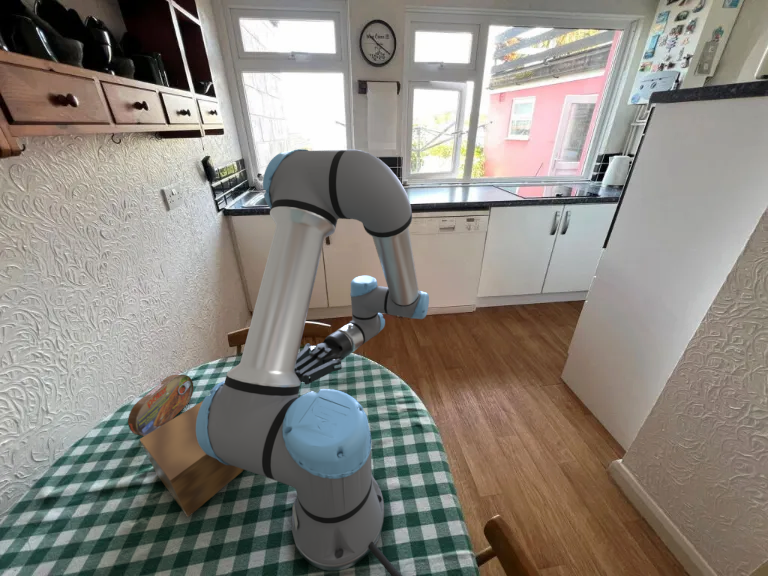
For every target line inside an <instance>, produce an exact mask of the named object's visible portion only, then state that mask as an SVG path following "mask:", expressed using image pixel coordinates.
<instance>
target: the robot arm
mask: <svg viewBox="0 0 768 576" xmlns="http://www.w3.org/2000/svg"><path fill="white" fill-rule="evenodd" d="M262 190H264V191H265V193H264V194H263V197H264V200H265V203H266V204H267V207H269V209H270V211H269V215H270V218H272V221H273V222H274V223H275V229H274V232H273V237H272V240H271V243H270V247H269V251H268V255H267V259H266V263H265V267H264V271H263V275H262V278H261V282H260V286H259V290H258V293H257V297H256V301H255V305H254V308H253V312H252V317H251V320H250V325H249V328H248V332H247V334H246V335H247V336H246V340H245V344H244V348H243V351H242V355H241V359H240V362H239V364H237V365H236V366H234V367H233V368H231V369H230V370H228V371H227V372H226V376H225V380H223V381H221V382H219V383H217V384H216V385H215V386H213V387H212V388H211V390H210V391H209V395H206V396H205V397H204V398H203V400H202V401H203V402H202V401H201V402H202V404H201V406H200V409H199V412H198V416H197V420H196V436H197V440H198V443H199V445H200V447H201V448H202V450H203V451H204V452H205V453H206V454H207V455H209V456H211V457H213V458H216V459H218V460H219V461H220V462H221V463H223V464H226V465H232V466H235V467H238V468H241V469H244V470H243V471H247V472H250V473H252V474H256V475H258V476H261V477H264V478H267V479H270V480H273V481H275V482H278V483H282V484H284V485H287V486H290V487H292V488H294V489H295V492H296V496H295V501H294V502H293V504H292V512H291V532H292V536H293V540H294V543H295V547H296V549H297V551H298V552H299V554H300V555H301V557H302V559H304V560H305V562H307V563H308V564H310V565H311V566H313V567H315V568H317V569H320V570H324V571H331V572H333V571H335V572H336V571H341V570H345V569H348V568H350V567H353V566H355V565H357V564H358V563H360V562H361V561H362V560H364V559H365V558H366V557H367V556H369V554H370V553H372V554H373V556H374V557H375V558H376V559H377V560H378V562H379V563H380V564H381V565H382V566H383V568H384V569H385V571H387V573H389V575H390V576H403V575H402V574H401V573H400V571H398V570H397V568H396V567H395V566H394V565H393V564H392V563H391V561H390V560H389V559H388V558H387V557H386V555H384V553H383V552H382V551H381V549H380V548H379V547H378V546H377V545H376V544H377V543H378V541H379V539H380V536H381V534H382V531H383V528H384V522H385V503H384V497H383V493H382V491H381V487H380V486H379V484H378V482H377V480H376V479H375V478H374V476H373V473H372V472H373V471H372V433H371V430H370V425H369V420H368V416H367V413H366V412H365V410H364V407H363V406H362V405H361V404H360V402H359V401H358V400H357V399H356V398H354V397H353V396H351V394H348V393H346V392H345V391H341V390H337V389H333V388H321V389H318V391H317V392H315V391H313V390H312V391H308V392H306V393H304V394H302V395H301V396H299V394H300V388H301V384H302V383H304V385H306V386H307V385H310V384H311V383H314V382H315V381H318V380H319V379H321V378H324V377H325V376H327V375H329V374H331V373H333V372H336V371H341V370H342V369H343V367H342V365H343V364H342V361H343V360H344V359H346V358H347V357H348V356H349V355H351V354H352V353H354V352H355V351H356V350H358V349H359V348H361V346H363V345H364V344H365V343H367V342H368V341H370V340H371V339H372V338H374V337H376V336H377V335H378V334H379V333H380V332H381V331H382V330H383V329H384V328H385V326H386V319H385V318H384V314H385V315H390V316H397V317H402V318H409V319H410V320H411V319H416V320H423V319H425V318H426V317H427V314H428V310H429V305H430V295H429V293H427V292H425V291H422V290H419V284H418V278H417V277H418V276H417V272H416V265H415V259H414V252H413V246H412V240H411V239H412V238H411V234H410V227H411V224H412V222H413V211H412V205H411V202H410V198H409V196H408V193H407V191H406V189H405V187H404V186H403V184H402V182H401V180H400V179H399V178H398V176H397V175H396V174H395V173H394V171H393V170H392V169H391V168H390V167H389V166H388V165H387V164H386V163H385V162H384V161H383V160H381V159H380V158H379V157H377V156H375V155H374V154H372V153H370V152H368V151H365V150H361V149H354V148H353V149H352V148H351V149H334V150H333V149H330V150H308V149H306V148H305V149H303V148H297V149H294V150H285V151H282V152H279V153H278V154H276V155H275V156H273V158H272V159H271V160H270V161H269V162H268V164H267V166H266V168H265V171H264V174H263V178H262ZM338 220H356V221H358V222H360V223H361V224H362V226H363V229H364V231H365V232H366V234H368V235H369V236H371V238H372V240H373V244H374V246H375V250H376V253H377V257H378V260H379V264H380V266H381V270H382V273H383V276H384V279H385V282H386V286H382V285H379V284H378V281H377V279H376V278H375V277H374V276H371V275H359V276H356V277H354V278H353V279H351V281H350V302H351V303H350V304H351V305H350V306H351V317H352V318H351V320H350V321H349V322H347V323H346V324H345V325H343V326H342V327H340V328H338V329H336V330H335V331H334V332H331V333H330V334H329V335H327V336H326V337H325V338H324V340H323V341H322V342H321V343H317V344H315V345H311V344H310V343H306V344H305V346H304V347H303V348H302V350H301V351H300V348H301V345H302V344H301V343H302V339H303V334H304V330H305V325H306V321H307V316H308V313H309V309H310V305H311V304H310V303H311V301H312V296H313V290H314V286H315V282H316V277H317V274H318V269H319V265H320V260H321V256H322V251H323V247H324V242H325V239H326V238H328V237H331V235H333V234H334V233H335V232H336V228H337V224H338Z"/></svg>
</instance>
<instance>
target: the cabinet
mask: <svg viewBox="0 0 768 576" xmlns="http://www.w3.org/2000/svg"><path fill="white" fill-rule="evenodd" d="M202 402H203V400H201V401H200V402H199V403H197V404H195V405H194V406H192V407H191V408H189V409H187V410H185V411H184V412H182V413H180V414H178V415H176V416H175V417H174V418H173V419H172V420H170V421H169V422H167V423H165V424H164V425H162V426H161V427H159V428H157V429H156V430H154V431H152V432H151V433H149V434H147V435H146V436H142V437H141V438H139V442H140V443H141V446H142V448H143V450H144V452H145V454H146V456H147V458H148V459H149V462H150V464H151V465H152V468H153V469H154V471H155V473H156V475H157V477H158V478H159V480H160V481H161V482H162V484H163V485H164V486H165V488H166V489H167V491H168V492H169V494H170V495H171V496H172V498H173V499H174V501H175V502H176V503H177V505H178V506H179V507H180V509H181V510H182V512H183V513H184V515H185V516H186V517H187V518H189V517H190V516H191V515H193V514H194V513H195V512H197V510H199V509H200V508H201V507H202V506H203V505H205V504H206V503H207V502H208V501H209V500H210V499H212V498H213V497H214V496H215V495H217V493H219V492H220V491H221V490H222V489H223V488H225V487H226V486H227V485H229V483H230V482H232V481H233V480H235V478H237V477H238V476H239V475H240V474H242V472H243V471H245V470H244V469H241V468H238V467H235V466H232V465H226V464H223V463H221V462H220V461H219V460H218V459H216V458H213V457H211V456H209V455H207V454H206V453H205V452H204V451H203V450H202V448H201V447H200V445H199V443H198V440H197V436H196V420H197V416H198V412H199V409H200V406H201V404H202Z"/></svg>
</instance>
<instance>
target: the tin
mask: <svg viewBox="0 0 768 576" xmlns="http://www.w3.org/2000/svg"><path fill="white" fill-rule="evenodd" d="M193 392H194V382H193V380H192V378H191V377H190V376H189V375H186V374H170V375H169V376H167V377H165V378H164V379H163V380H161V381H160V382H159V383H158V384H157V385H156V386H155V387H153V388H152V389H151V390H150V391H149V392H147V393H146V394H145V395H143V396H142V397H141V398H140V399H139V400H138V401H137V402H136V403H134V405H133V407H132V408H131V410H130V412H129V414H128V417H127V425H128V428H129V430H130V431H131V433H132V434H134V435H137V436H142V437H144V436H146V435H147V434H149V433H151V432H152V431H154V430H156V429H157V428H159V427H161V426H162V425H164V424H165V423H167V422H169V421H170V420H172V419H174V418H175V417H177V416H178V415H179V413H180V412H181V411H182V410H183V409H184V408H185V407H186V406H187V405H188V404H189V403H190V401H191V398H192V397H193V394H194V393H193Z"/></svg>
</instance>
